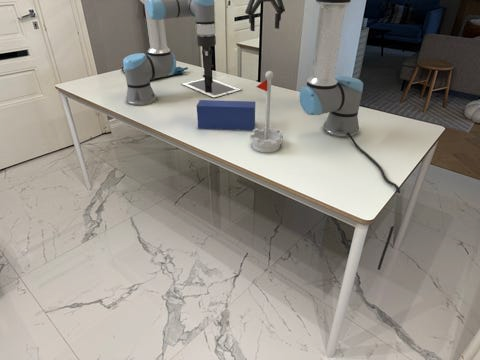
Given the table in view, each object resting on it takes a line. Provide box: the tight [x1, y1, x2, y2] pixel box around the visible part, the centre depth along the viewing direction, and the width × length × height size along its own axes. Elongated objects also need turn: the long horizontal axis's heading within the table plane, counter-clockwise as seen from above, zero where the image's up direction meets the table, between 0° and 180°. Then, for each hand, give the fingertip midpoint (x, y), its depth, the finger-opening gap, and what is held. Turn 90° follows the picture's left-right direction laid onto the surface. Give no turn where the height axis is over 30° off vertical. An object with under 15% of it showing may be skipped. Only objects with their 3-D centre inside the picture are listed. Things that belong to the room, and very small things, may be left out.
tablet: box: [181, 77, 242, 99], centre depth 200 cm, size 32×20×1 cm, turn 41°
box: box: [196, 99, 256, 131], centre depth 151 cm, size 25×8×11 cm, turn 85°
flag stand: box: [249, 70, 284, 153], centre depth 129 cm, size 13×13×30 cm
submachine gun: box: [150, 66, 189, 81], centre depth 223 cm, size 34×4×25 cm
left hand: (209, 87), depth 147 cm, fingers open, 13 cm apart
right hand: (264, 29), depth 162 cm, fingers open, 13 cm apart
